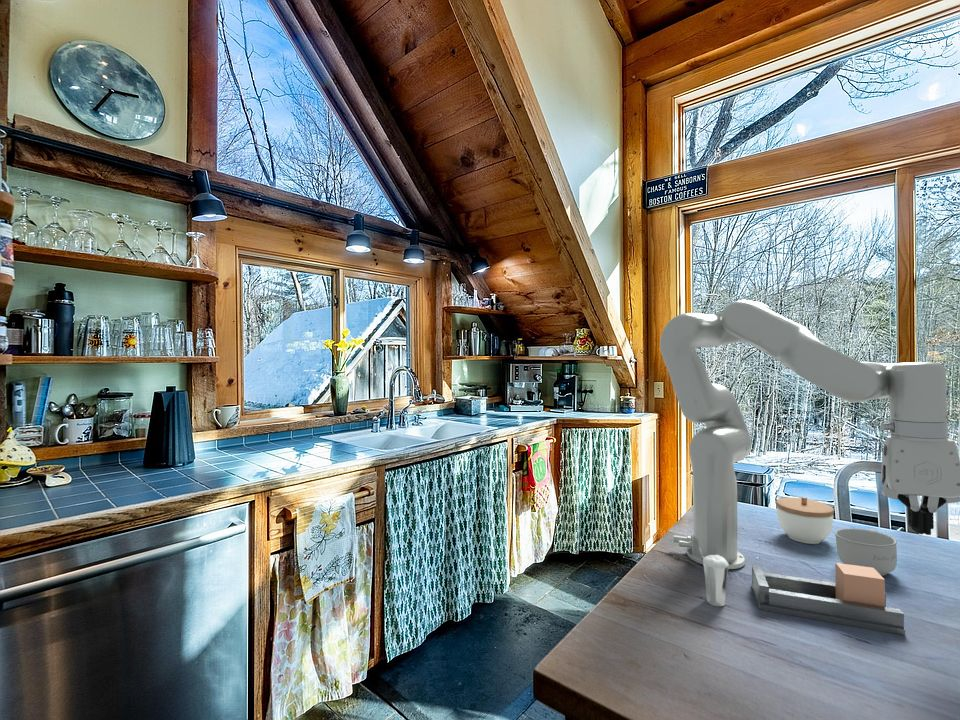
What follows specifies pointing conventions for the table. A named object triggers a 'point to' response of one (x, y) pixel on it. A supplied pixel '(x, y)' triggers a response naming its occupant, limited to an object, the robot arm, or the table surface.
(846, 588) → the block
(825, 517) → the lidded bowl
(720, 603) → the milkshake
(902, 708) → the table surface
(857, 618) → the chute
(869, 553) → the teacup
